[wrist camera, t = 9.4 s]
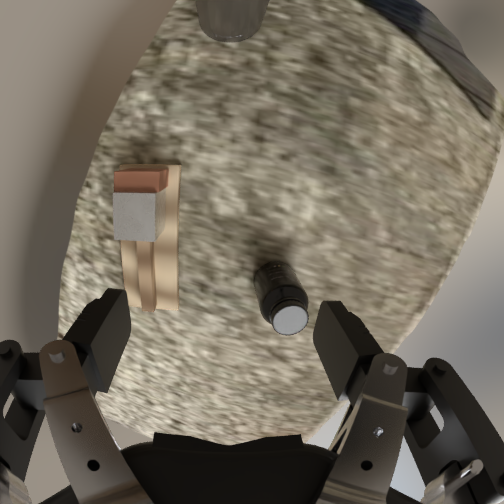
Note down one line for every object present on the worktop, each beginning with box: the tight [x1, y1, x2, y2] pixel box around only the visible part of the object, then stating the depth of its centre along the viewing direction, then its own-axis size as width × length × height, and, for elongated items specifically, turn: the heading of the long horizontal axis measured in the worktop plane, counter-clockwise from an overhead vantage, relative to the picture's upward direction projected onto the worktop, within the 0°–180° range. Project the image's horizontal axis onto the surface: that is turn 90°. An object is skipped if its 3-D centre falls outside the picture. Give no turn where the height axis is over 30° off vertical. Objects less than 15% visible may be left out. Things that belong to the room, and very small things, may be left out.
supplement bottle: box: [254, 262, 309, 335], centre depth 39 cm, size 7×7×12 cm
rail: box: [114, 164, 181, 312], centre depth 37 cm, size 23×9×7 cm, turn 174°
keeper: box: [113, 188, 166, 242], centre depth 33 cm, size 6×6×6 cm
